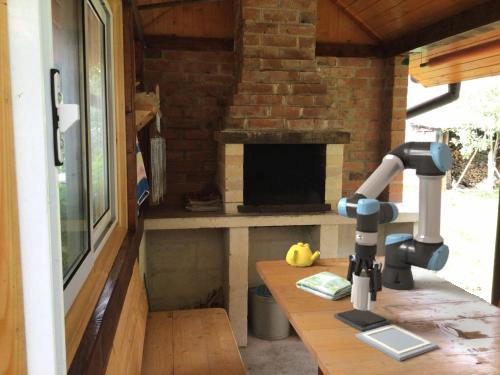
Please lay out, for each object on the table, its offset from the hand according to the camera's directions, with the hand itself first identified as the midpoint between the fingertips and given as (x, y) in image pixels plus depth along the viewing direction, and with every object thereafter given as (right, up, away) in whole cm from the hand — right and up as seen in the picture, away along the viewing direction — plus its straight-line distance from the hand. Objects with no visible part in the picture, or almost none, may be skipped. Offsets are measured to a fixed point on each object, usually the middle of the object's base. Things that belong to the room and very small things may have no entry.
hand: (362, 305), depth 160 cm
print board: (+7, -8, -16) cm, 19 cm away
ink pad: (0, -6, +1) cm, 6 cm away
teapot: (-13, +2, +71) cm, 72 cm away
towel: (-7, -3, +33) cm, 34 cm away
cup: (0, -1, 0) cm, 1 cm away
